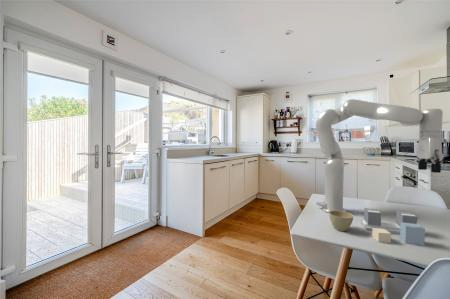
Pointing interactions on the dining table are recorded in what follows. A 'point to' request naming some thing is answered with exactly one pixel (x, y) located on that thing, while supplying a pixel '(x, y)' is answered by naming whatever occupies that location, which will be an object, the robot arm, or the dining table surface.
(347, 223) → the olive bowl
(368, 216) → the rail fixture
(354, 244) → the dining table surface
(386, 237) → the beige cube
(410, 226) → the module
